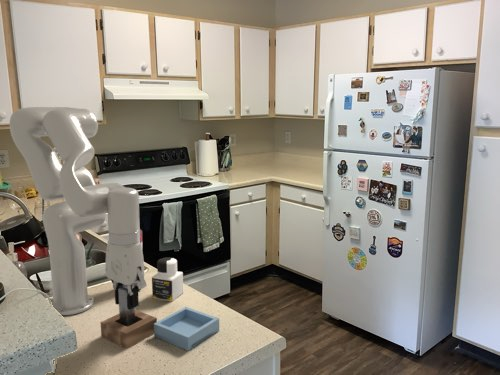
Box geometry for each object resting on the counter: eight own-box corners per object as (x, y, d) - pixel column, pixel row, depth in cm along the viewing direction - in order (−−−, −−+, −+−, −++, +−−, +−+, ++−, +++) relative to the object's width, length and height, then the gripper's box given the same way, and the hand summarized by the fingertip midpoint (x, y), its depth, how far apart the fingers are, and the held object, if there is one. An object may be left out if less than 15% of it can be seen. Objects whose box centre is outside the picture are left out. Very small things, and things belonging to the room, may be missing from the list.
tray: (154, 336, 115) (153, 323, 115) (185, 318, 125) (185, 306, 124) (188, 350, 108) (188, 337, 108) (219, 330, 118) (219, 318, 118)
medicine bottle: (152, 298, 138) (150, 261, 135) (164, 289, 144) (163, 254, 142) (172, 302, 135) (171, 264, 133) (183, 292, 142) (182, 257, 140)
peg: (116, 324, 115) (114, 288, 114) (128, 318, 119) (127, 283, 117) (126, 328, 113) (125, 292, 111) (138, 322, 116) (137, 286, 115)
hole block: (101, 336, 115) (100, 322, 114) (131, 321, 123) (131, 308, 122) (127, 348, 109) (126, 333, 109) (157, 331, 117) (156, 317, 117)
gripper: (90, 234, 113) (94, 301, 117) (135, 247, 104) (137, 320, 107) (115, 228, 119) (117, 291, 123) (159, 239, 110) (160, 308, 113)
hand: (126, 304), depth 115 cm, fingers closed on peg, 4 cm apart
